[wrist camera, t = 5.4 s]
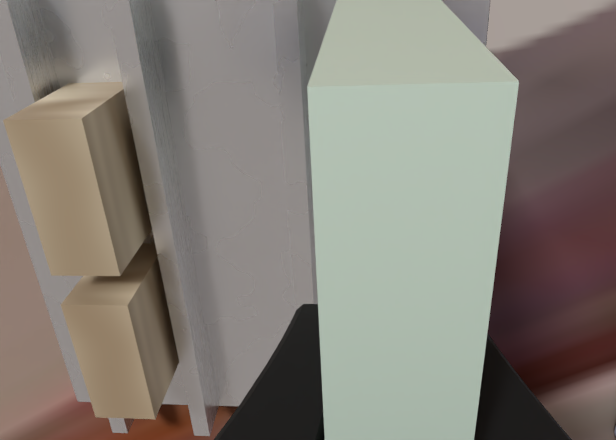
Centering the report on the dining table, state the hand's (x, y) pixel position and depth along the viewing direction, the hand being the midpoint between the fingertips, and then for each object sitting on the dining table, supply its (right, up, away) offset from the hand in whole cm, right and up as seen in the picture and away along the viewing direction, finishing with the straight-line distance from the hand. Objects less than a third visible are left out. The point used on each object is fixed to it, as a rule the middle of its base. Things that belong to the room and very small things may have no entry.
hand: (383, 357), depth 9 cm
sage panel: (0, +2, +4) cm, 5 cm away
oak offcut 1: (-7, +4, +9) cm, 12 cm away
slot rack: (-3, +2, +11) cm, 12 cm away
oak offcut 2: (-7, -1, +12) cm, 14 cm away
